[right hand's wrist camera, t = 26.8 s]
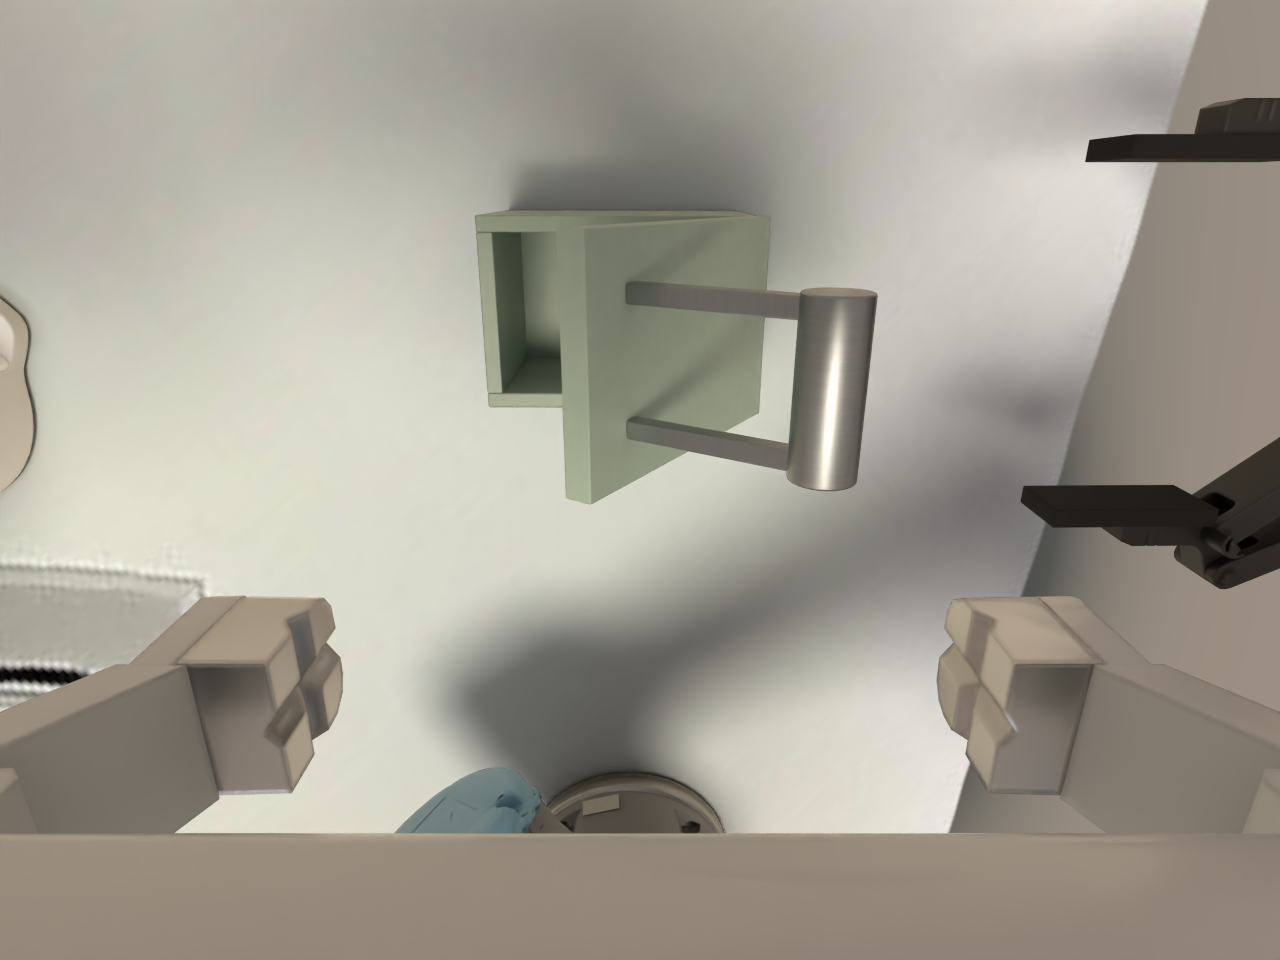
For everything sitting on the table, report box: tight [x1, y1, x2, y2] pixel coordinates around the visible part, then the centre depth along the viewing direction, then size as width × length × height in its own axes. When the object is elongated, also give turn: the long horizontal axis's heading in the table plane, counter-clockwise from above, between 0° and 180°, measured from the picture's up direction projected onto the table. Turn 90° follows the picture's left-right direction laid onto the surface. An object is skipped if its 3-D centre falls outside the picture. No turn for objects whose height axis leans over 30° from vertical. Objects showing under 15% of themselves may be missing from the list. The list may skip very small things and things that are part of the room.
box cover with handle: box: [556, 216, 878, 504], centre depth 28 cm, size 14×9×9 cm
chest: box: [475, 210, 755, 407], centre depth 40 cm, size 13×9×9 cm
